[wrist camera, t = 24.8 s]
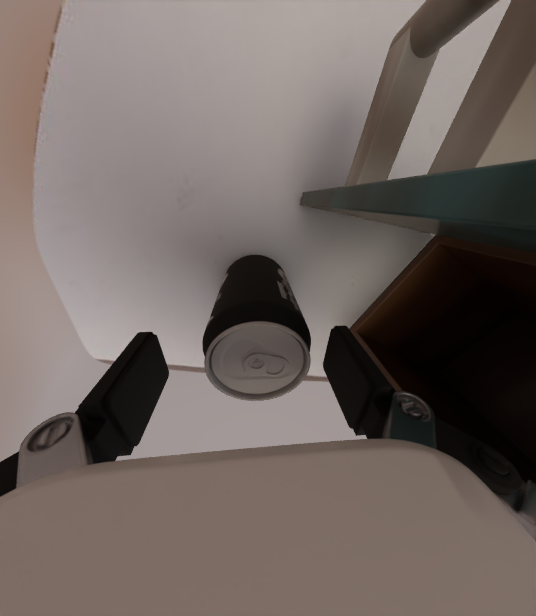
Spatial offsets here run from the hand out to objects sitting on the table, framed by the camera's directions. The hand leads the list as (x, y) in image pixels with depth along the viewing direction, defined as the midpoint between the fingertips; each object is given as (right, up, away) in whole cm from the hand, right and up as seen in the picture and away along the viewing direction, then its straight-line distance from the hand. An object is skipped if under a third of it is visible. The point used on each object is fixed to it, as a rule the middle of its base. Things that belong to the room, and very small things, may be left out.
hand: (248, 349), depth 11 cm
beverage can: (0, +5, +10) cm, 12 cm away
